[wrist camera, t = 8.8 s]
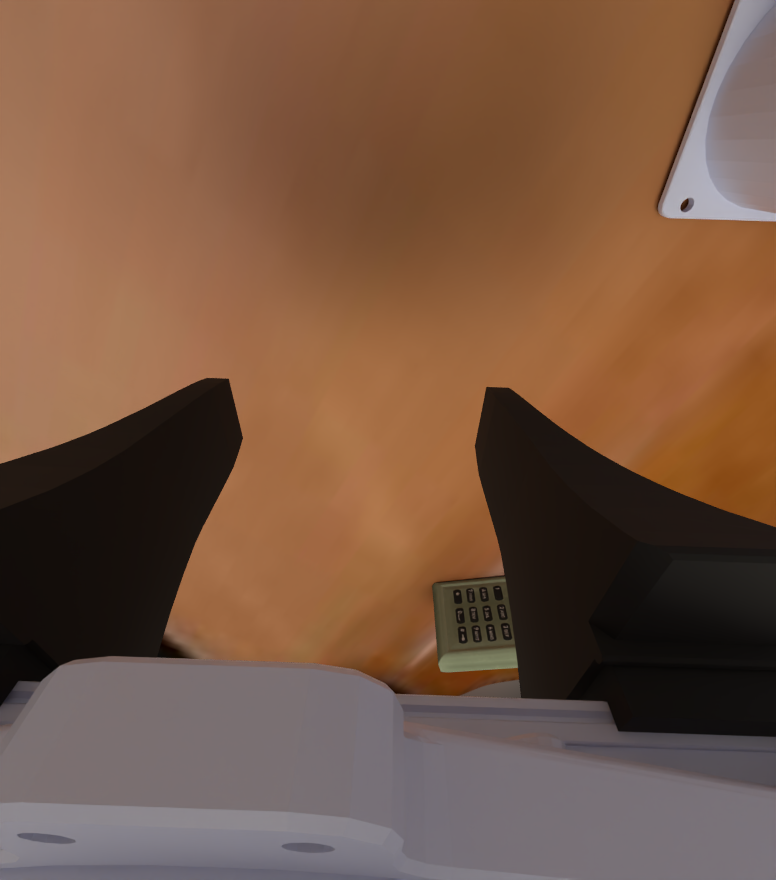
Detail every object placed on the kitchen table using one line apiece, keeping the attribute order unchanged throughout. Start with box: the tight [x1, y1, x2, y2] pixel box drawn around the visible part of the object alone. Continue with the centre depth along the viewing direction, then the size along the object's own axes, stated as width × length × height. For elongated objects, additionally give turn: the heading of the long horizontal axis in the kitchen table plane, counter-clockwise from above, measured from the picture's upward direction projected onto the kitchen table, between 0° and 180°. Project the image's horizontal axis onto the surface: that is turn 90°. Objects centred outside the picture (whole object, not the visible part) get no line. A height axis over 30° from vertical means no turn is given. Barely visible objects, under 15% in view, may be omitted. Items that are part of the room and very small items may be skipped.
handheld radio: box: [432, 576, 518, 672], centre depth 31 cm, size 7×3×25 cm
